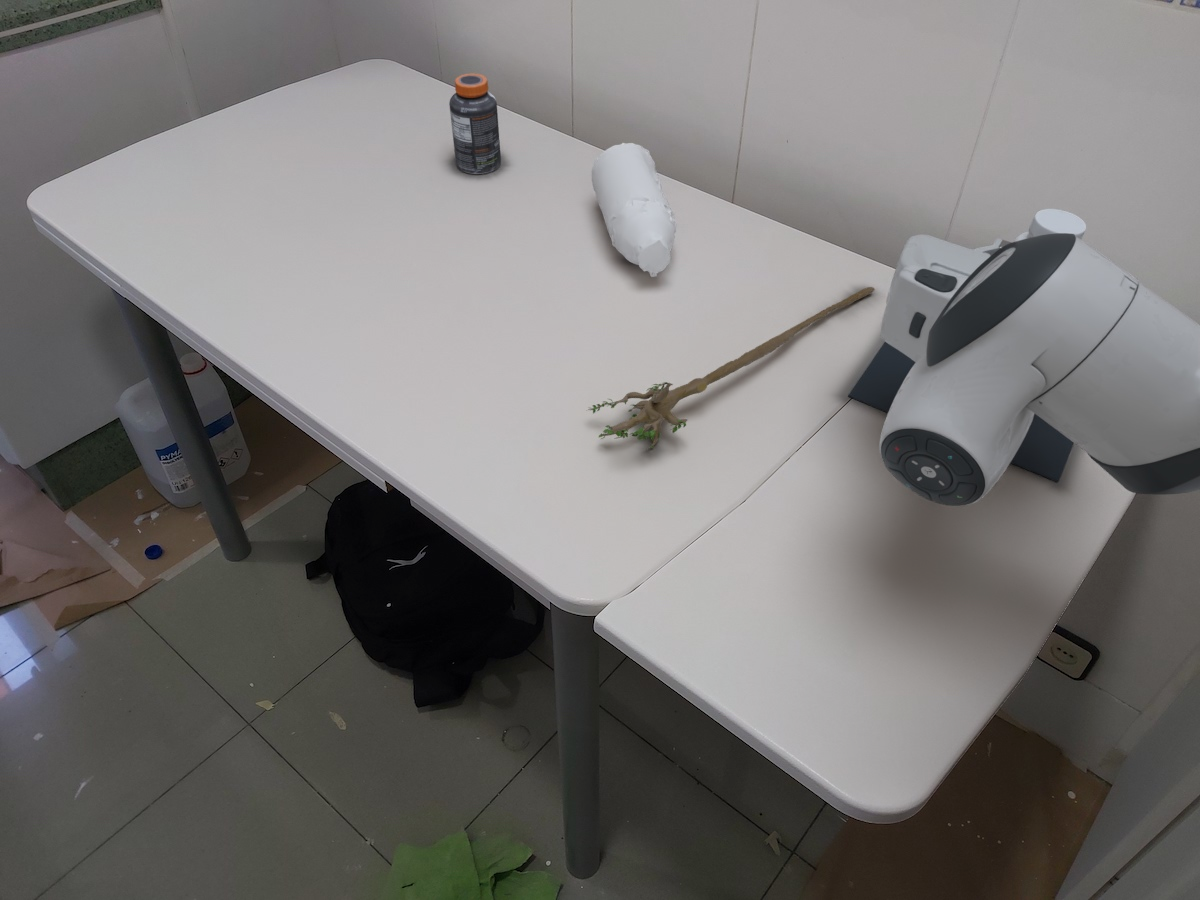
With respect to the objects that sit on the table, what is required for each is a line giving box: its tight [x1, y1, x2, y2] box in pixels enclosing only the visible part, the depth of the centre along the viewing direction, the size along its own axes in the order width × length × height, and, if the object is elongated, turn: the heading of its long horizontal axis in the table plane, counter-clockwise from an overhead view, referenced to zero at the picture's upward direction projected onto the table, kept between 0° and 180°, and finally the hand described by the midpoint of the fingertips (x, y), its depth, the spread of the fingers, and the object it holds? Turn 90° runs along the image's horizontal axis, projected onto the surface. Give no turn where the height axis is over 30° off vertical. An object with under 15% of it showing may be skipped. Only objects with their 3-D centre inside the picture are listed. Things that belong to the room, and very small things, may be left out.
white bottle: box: [591, 141, 678, 278], centre depth 101 cm, size 8×19×8 cm, turn 9°
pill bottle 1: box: [448, 72, 502, 175], centre depth 112 cm, size 6×6×11 cm
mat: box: [847, 341, 1075, 483], centre depth 86 cm, size 20×14×1 cm
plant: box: [585, 286, 875, 451], centre depth 85 cm, size 39×8×8 cm, turn 125°
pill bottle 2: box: [1013, 208, 1087, 242], centre depth 75 cm, size 5×5×10 cm
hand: (1042, 260), depth 75 cm, fingers closed on pill bottle 2, 5 cm apart
